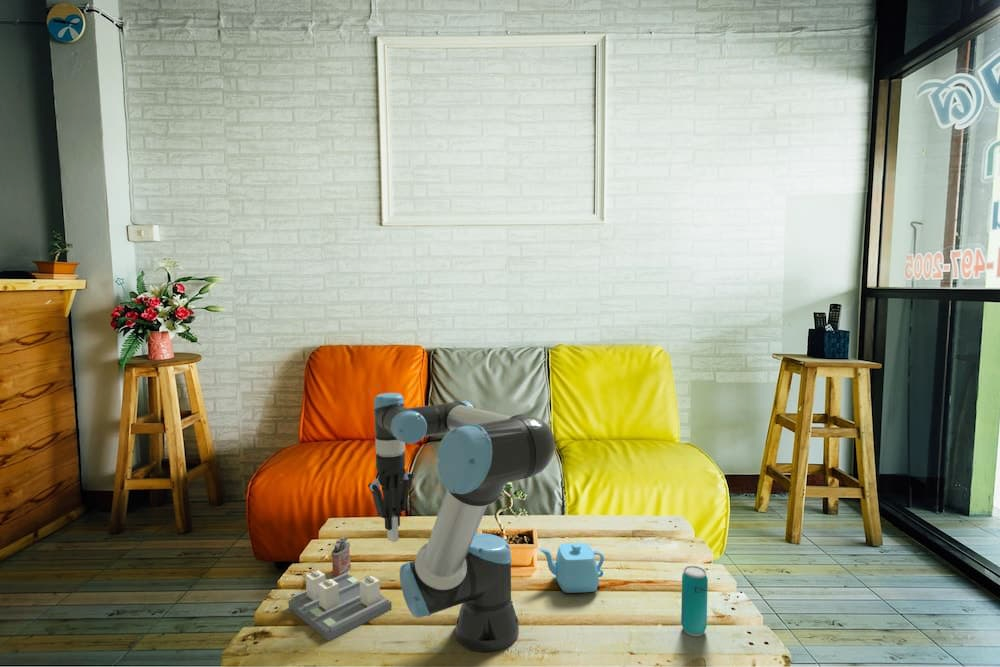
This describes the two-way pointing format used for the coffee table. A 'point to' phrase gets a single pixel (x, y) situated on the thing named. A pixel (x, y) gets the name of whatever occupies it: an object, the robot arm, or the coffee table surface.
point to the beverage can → (694, 600)
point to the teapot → (575, 567)
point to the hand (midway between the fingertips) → (392, 539)
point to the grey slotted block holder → (338, 609)
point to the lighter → (341, 557)
